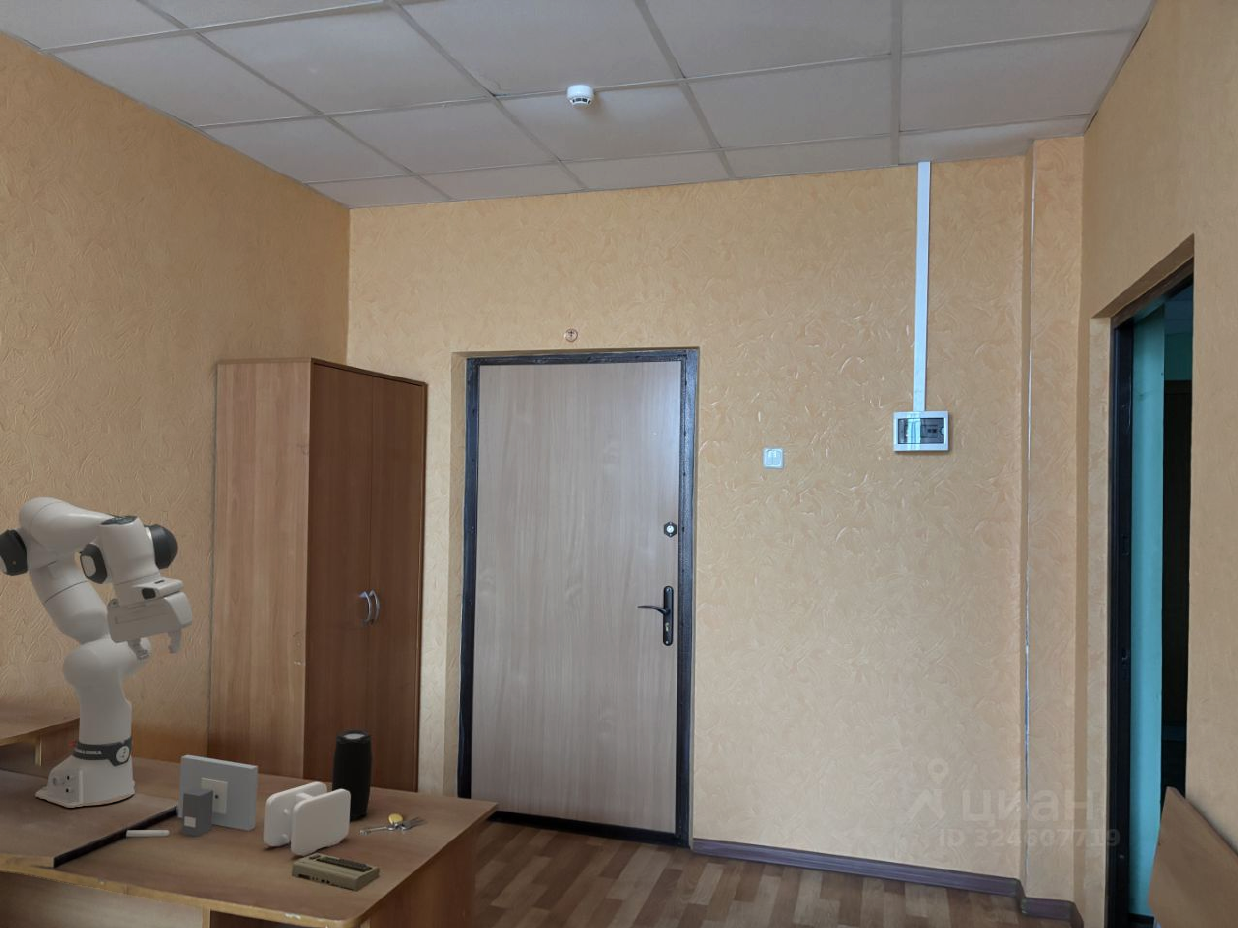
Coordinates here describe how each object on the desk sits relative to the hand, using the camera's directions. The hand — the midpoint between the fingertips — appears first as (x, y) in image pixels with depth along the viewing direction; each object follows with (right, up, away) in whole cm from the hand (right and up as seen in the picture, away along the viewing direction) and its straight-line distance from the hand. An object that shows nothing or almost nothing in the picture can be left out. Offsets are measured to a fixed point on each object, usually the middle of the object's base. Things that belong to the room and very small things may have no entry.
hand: (159, 655), depth 186 cm
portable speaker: (+31, -45, +28) cm, 61 cm away
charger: (+1, -43, +15) cm, 45 cm away
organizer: (+27, -44, +11) cm, 53 cm away
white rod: (-9, -42, +11) cm, 45 cm away
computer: (+38, -45, -4) cm, 59 cm away
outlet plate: (+2, -43, +21) cm, 48 cm away
